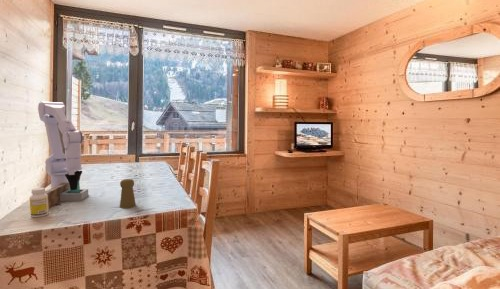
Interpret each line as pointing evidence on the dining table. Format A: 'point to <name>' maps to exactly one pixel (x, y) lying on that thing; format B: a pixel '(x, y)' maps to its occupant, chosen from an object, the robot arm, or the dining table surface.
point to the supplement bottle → (39, 203)
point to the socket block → (73, 195)
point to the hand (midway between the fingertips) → (74, 188)
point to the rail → (56, 193)
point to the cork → (127, 194)
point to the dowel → (76, 189)
